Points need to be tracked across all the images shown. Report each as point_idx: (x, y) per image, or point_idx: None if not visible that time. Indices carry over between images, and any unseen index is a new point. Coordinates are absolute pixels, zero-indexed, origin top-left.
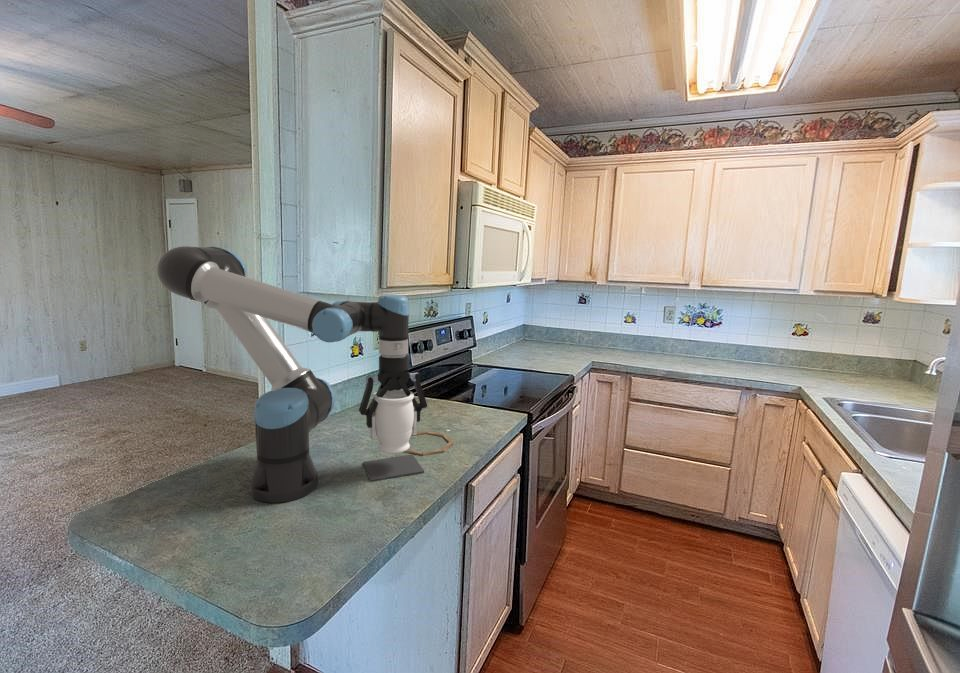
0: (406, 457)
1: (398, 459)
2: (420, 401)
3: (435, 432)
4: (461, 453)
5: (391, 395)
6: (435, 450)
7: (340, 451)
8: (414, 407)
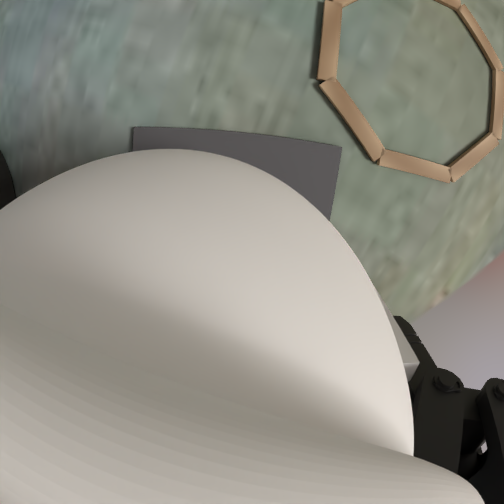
0: (306, 162)
1: (268, 164)
2: (486, 429)
3: (482, 32)
4: (479, 221)
5: (81, 294)
6: (430, 163)
7: (99, 9)
8: (415, 393)
